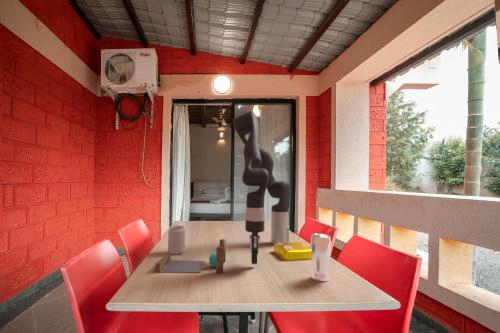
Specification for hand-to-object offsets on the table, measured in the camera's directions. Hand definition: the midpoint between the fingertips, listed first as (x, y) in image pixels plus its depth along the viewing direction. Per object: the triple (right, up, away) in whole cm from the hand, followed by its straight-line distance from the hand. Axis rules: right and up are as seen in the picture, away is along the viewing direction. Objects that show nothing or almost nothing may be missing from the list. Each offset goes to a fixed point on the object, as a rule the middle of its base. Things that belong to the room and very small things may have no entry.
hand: (254, 263), depth 106 cm
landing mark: (-27, -1, -1) cm, 27 cm away
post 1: (-13, -2, +6) cm, 15 cm away
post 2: (-13, -1, -7) cm, 15 cm away
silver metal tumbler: (+23, -2, -11) cm, 26 cm away
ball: (-15, +2, 0) cm, 15 cm away
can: (-35, -2, +18) cm, 40 cm away
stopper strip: (-35, -1, -1) cm, 35 cm away
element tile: (+18, -3, +18) cm, 26 cm away
